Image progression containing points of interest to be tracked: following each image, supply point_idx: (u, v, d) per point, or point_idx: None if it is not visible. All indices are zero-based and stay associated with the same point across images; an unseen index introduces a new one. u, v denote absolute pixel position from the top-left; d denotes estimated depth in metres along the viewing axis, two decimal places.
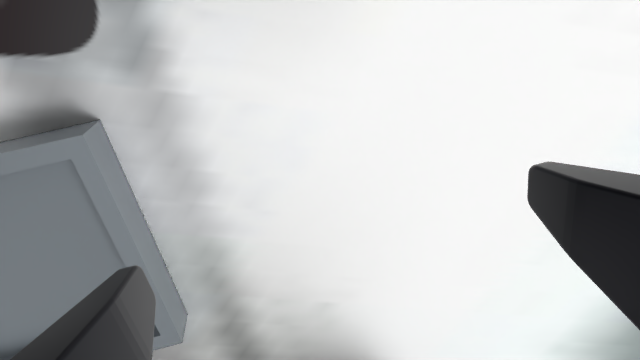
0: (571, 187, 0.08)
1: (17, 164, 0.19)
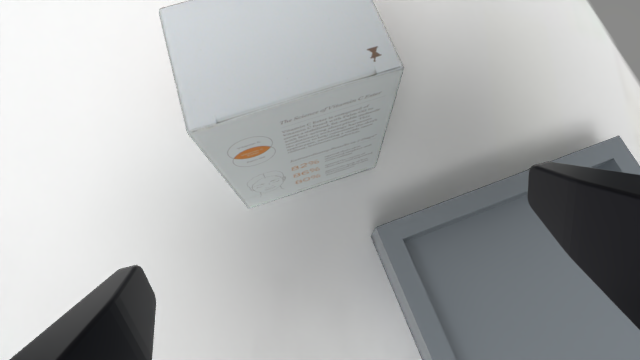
0: (571, 187, 0.08)
1: None
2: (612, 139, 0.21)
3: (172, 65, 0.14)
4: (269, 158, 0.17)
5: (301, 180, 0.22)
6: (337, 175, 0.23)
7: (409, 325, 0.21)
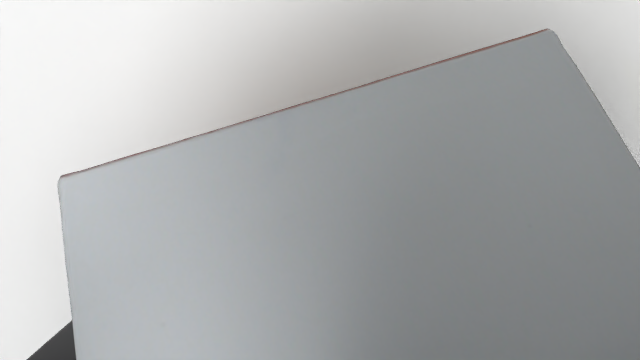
0: None
1: None
2: None
3: None
4: None
5: None
6: None
7: None
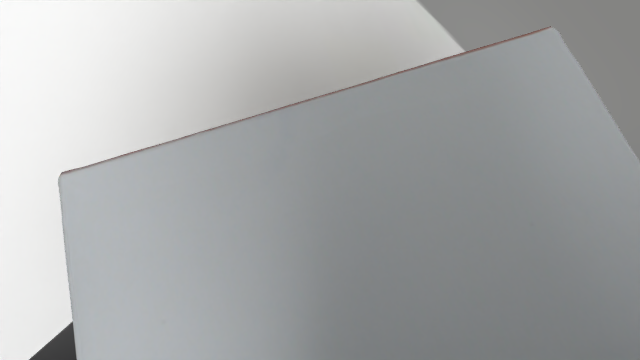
0: None
1: None
2: None
3: None
4: None
5: None
6: None
7: None
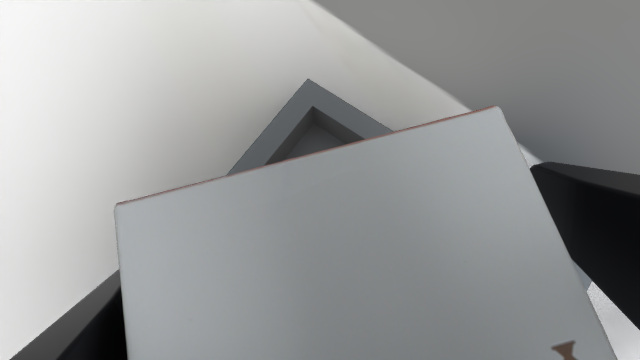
0: (571, 187, 0.08)
1: None
2: (303, 86, 0.18)
3: (128, 351, 0.07)
4: None
5: None
6: None
7: None
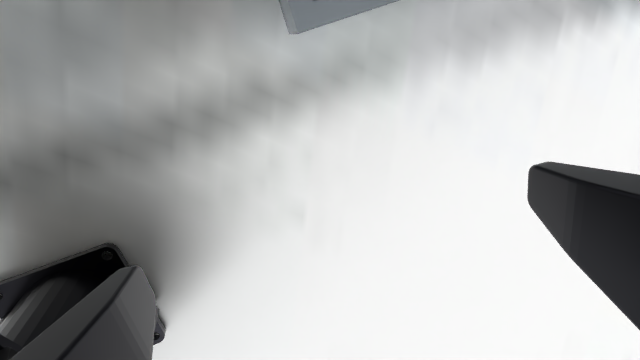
0: (571, 187, 0.08)
1: None
2: None
3: None
4: None
5: None
6: None
7: None
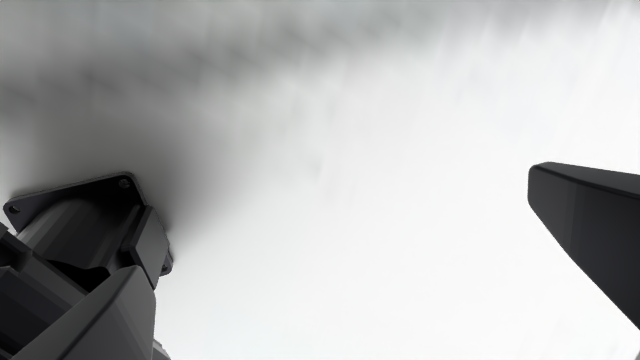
0: (571, 187, 0.08)
1: None
2: None
3: None
4: None
5: None
6: None
7: None
